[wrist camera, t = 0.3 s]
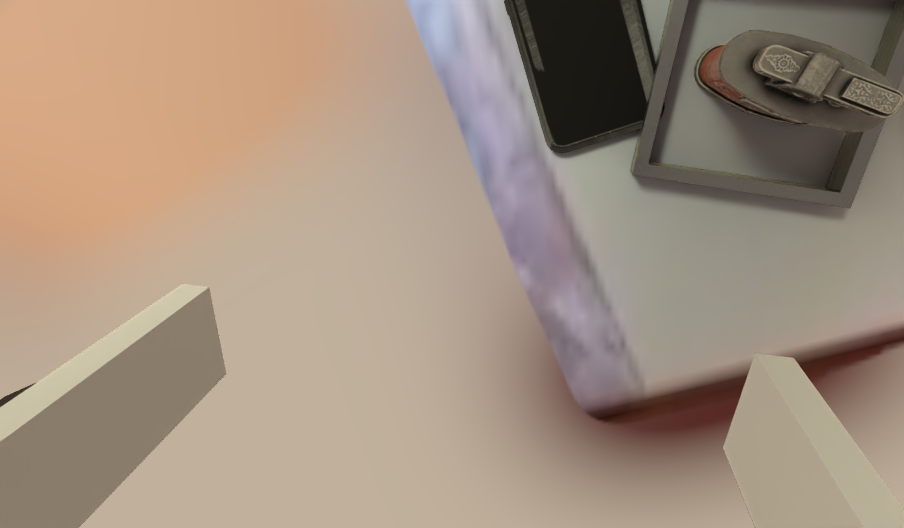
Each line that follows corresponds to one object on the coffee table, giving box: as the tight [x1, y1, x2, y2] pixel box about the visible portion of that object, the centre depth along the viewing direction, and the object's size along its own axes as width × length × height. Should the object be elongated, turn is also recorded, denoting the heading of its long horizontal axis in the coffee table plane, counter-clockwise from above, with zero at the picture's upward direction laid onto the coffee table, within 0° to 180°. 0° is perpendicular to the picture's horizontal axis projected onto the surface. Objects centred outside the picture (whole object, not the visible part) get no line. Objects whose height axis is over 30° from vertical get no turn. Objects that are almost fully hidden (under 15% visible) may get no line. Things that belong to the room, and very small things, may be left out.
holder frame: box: [630, 0, 904, 208], centre depth 30 cm, size 13×13×2 cm
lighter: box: [694, 30, 904, 132], centre depth 27 cm, size 8×3×10 cm, turn 68°
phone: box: [504, 0, 665, 153], centre depth 33 cm, size 8×1×15 cm
